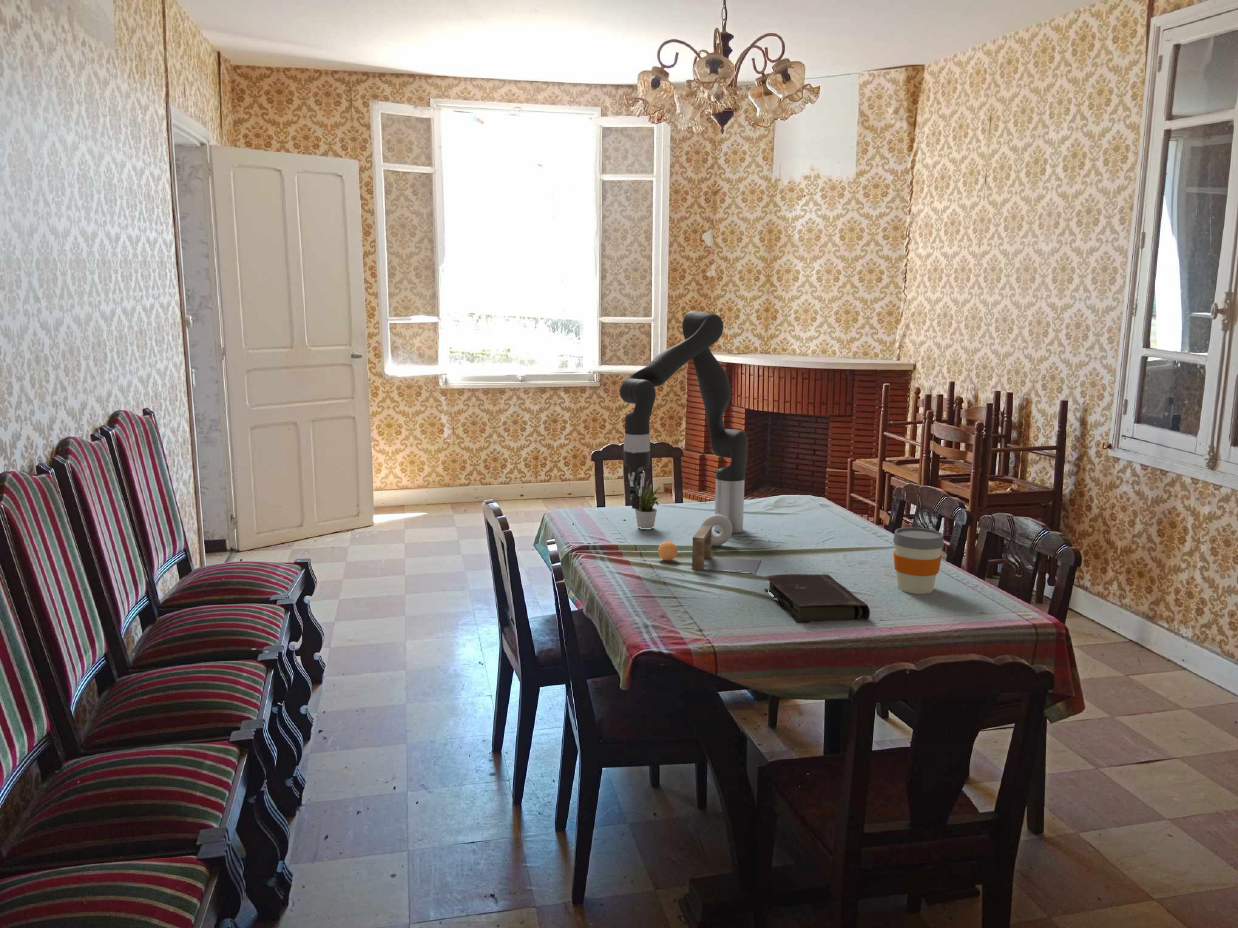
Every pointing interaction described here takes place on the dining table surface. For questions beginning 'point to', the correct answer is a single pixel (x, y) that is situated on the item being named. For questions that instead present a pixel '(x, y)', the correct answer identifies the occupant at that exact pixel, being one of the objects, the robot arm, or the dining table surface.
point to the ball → (667, 550)
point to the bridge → (701, 547)
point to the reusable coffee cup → (917, 558)
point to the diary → (815, 598)
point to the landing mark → (733, 564)
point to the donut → (725, 526)
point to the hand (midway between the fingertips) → (636, 508)
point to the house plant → (647, 508)
